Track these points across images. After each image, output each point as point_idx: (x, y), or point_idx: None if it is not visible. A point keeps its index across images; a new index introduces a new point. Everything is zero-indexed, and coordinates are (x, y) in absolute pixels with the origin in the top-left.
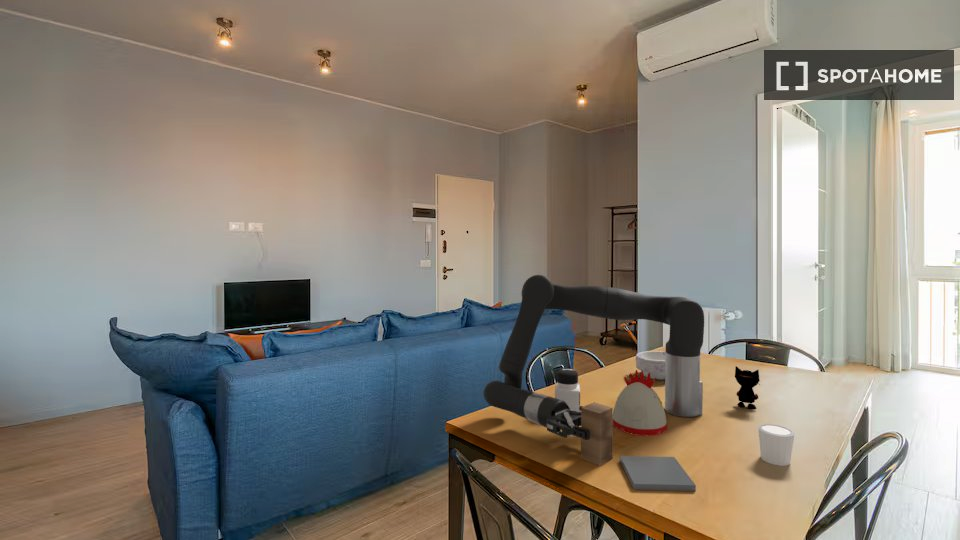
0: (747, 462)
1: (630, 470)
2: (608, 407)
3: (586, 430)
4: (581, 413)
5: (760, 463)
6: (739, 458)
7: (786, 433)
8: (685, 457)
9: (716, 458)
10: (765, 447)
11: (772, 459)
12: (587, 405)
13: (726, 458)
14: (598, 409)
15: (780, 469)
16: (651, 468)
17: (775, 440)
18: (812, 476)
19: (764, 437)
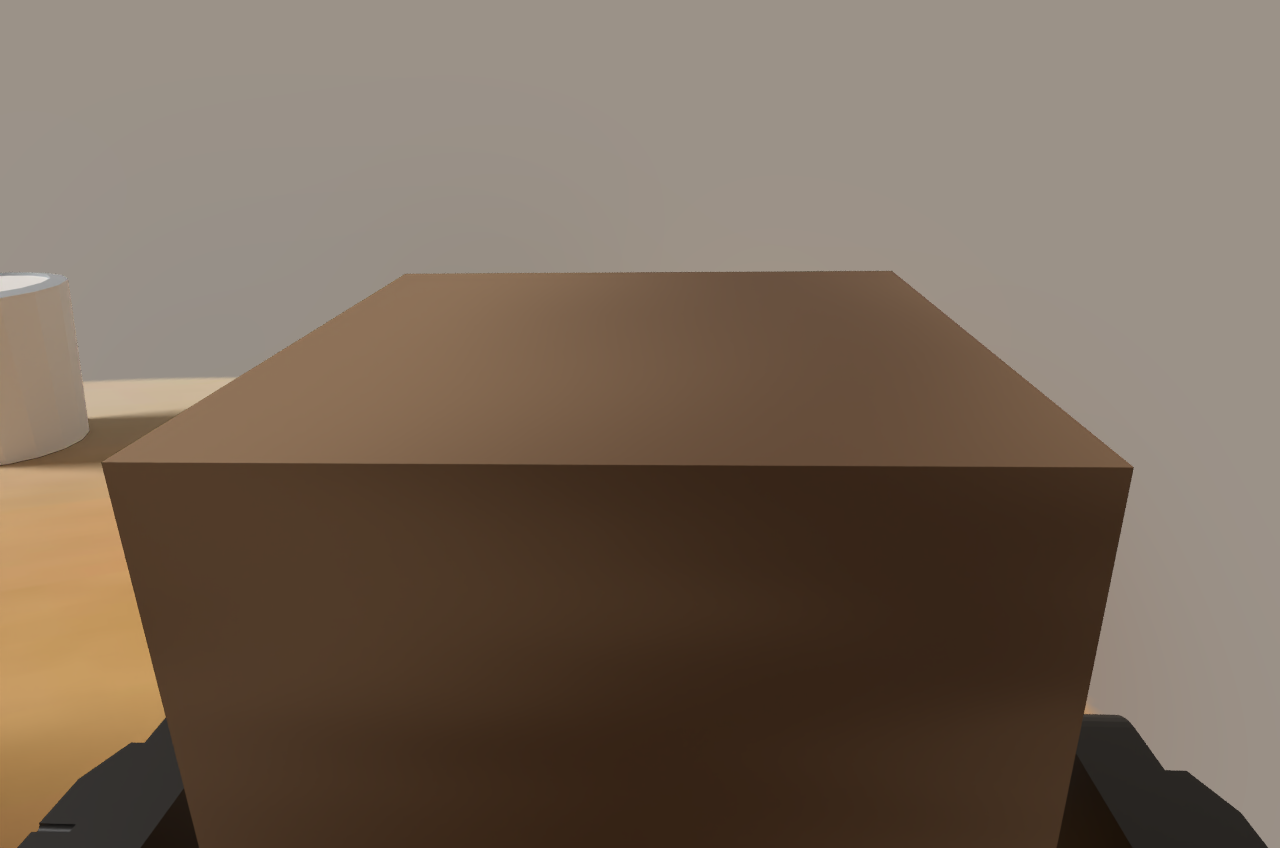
0: (90, 478)
1: None
2: (429, 289)
3: (1128, 727)
4: (1072, 706)
5: (85, 457)
6: (38, 498)
7: (15, 278)
8: (117, 632)
9: (74, 544)
10: (39, 377)
11: (75, 417)
12: (690, 443)
13: (57, 523)
14: (722, 304)
15: (135, 425)
16: None
17: (64, 311)
18: (169, 389)
19: (22, 326)
